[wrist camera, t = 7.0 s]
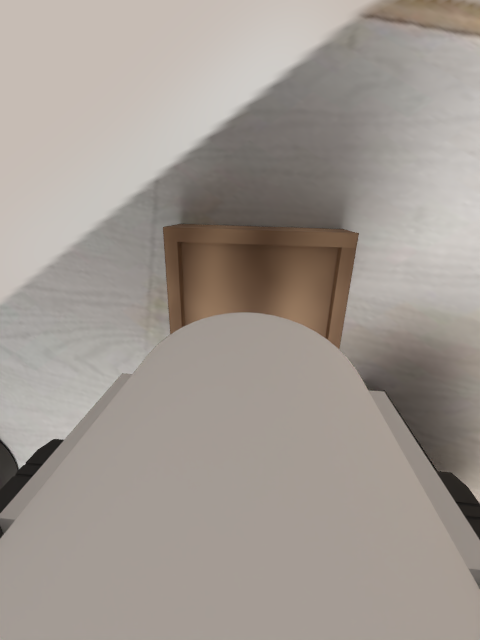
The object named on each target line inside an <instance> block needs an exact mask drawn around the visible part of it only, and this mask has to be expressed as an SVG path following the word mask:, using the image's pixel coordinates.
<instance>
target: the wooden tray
mask: <svg viewBox="0 0 480 640" xmlns="http://www.w3.org/2000/svg"><path fill="white" fill-rule="evenodd" d="M163 234H164V249H165V263H166V278H167V292H168V307H169V322H170V335H171V334H172V333H173V332H175V331H177V330H179V329H180V328H182V327H184V326H186V325H188V324H190V323H193V322H195V321H198V320H201V319H204V318H207V317H211V316H215V315H221V314H227V313H238V312H250V313H262V314H268V315H274V316H278V317H281V318H285V319H288V320H291V321H294V322H296V323H299V324H302V325H304V326H305V327H307V328H309V329H311V330H313V331H315V332H317V333H318V334H320V335H321V336H323V337H324V338H326V339H327V340H328V341H330V342H331V343H332V344H333V345H335V346H336V347H337V348H338V349H339V348H340V342H341V336H342V330H343V324H344V318H345V312H346V306H347V300H348V294H349V288H350V282H351V276H352V270H353V265H354V259H355V253H356V247H357V241H358V235H359V233H355V232H352V231H348V230H344V229H324V228H292V227H260V226H228V225H196V224H177V225H172V226H166V227H163Z"/></svg>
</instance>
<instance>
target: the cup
mask: <svg viewBox="0 0 480 640" xmlns="http://www.w3.org/2000/svg"><path fill="white" fill-rule="evenodd" d="M0 640H480V589H479V587H478V585H477V583H476V582H475V580H474V578H473V576H472V574H471V573H470V571H469V569H468V567H467V566H466V564H465V562H464V560H463V558H462V557H461V555H460V553H459V551H458V550H457V548H456V546H455V544H454V542H453V541H452V539H451V537H450V535H449V533H448V532H447V530H446V528H445V526H444V525H443V523H442V521H441V519H440V517H439V516H438V514H437V512H436V510H435V509H434V507H433V505H432V503H431V501H430V500H429V498H428V496H427V494H426V493H425V491H424V489H423V487H422V485H421V484H420V482H419V480H418V478H417V477H416V475H415V473H414V471H413V469H412V468H411V466H410V464H409V462H408V460H407V459H406V457H405V455H404V453H403V452H402V450H401V448H400V446H399V444H398V443H397V441H396V439H395V437H394V435H393V434H392V432H391V430H390V428H389V427H388V425H387V423H386V421H385V419H384V418H383V416H382V414H381V412H380V410H379V409H378V407H377V405H376V403H375V402H374V400H373V398H372V396H371V394H370V393H369V391H368V389H367V387H366V385H365V384H364V382H363V380H362V378H361V377H360V375H359V373H358V372H357V370H356V369H355V367H354V366H353V365H352V363H351V362H350V361H349V359H348V358H347V357H346V356H345V355H344V354H343V353H342V352H341V351H340V350H339V349H338V348H337V347H336V346H335V345H333V344H332V343H331V342H330V341H328V340H327V339H326V338H324V337H323V336H321V335H320V334H318V333H317V332H315V331H313V330H311V329H309V328H307V327H305V326H304V325H302V324H299V323H296V322H294V321H291V320H288V319H285V318H281V317H278V316H274V315H268V314H262V313H250V312H238V313H227V314H221V315H215V316H211V317H207V318H204V319H201V320H198V321H195V322H193V323H190V324H188V325H186V326H184V327H182V328H180V329H179V330H177V331H175V332H173V333H172V334H171V335H169V336H168V337H166V338H165V339H164V340H163V341H161V342H160V343H159V344H158V345H157V346H156V347H155V348H154V349H153V350H152V351H151V352H150V353H149V354H148V356H147V357H146V358H145V359H144V360H143V362H142V363H141V364H140V365H139V367H138V368H137V369H136V370H135V372H134V373H133V374H132V375H131V377H130V378H129V379H128V380H127V382H126V383H125V384H124V385H123V387H122V388H121V389H120V390H119V392H118V393H117V394H116V395H115V397H114V398H113V399H112V400H111V402H110V403H109V404H108V405H107V407H106V408H105V409H104V410H103V412H102V413H101V414H100V415H99V417H98V418H97V419H96V420H95V422H94V423H93V424H92V425H91V427H90V428H89V429H88V430H87V432H86V433H85V434H84V435H83V437H82V438H81V439H80V440H79V442H78V443H77V444H76V445H75V447H74V448H73V449H72V450H71V452H70V453H69V454H68V455H67V457H66V458H65V459H64V460H63V461H62V463H61V464H60V465H59V466H58V468H57V469H56V470H55V471H54V473H53V474H52V475H51V476H50V478H49V479H48V480H47V481H46V483H45V484H44V485H43V486H42V488H41V489H40V490H39V491H38V493H37V494H36V495H35V496H34V497H33V499H32V500H31V501H30V502H29V504H28V505H27V506H26V507H25V509H24V510H23V511H22V512H21V514H20V515H19V516H18V517H17V519H16V520H15V521H14V522H13V524H12V525H11V526H10V527H9V529H8V530H7V531H6V532H5V533H4V535H3V536H2V537H1V538H0Z"/></svg>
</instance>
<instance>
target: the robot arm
mask: <svg viewBox="0 0 480 640" xmlns="http://www.w3.org/2000/svg"><path fill="white" fill-rule="evenodd" d="M131 375H132V374H123V373H122V374H121V375H120V377H119V378H118V379H117V380H116V381H115V382H114V383H113V385H112V386H111V387H110V388H109V389H108V390H107V391H106V393H105V394H104V395H103V396H102V397H101V398H100V400H99V401H98V402H97V403H96V404H95V405H94V406H93V408H92V409H91V410H90V411H89V412H88V413H87V414H86V416H85V417H84V418H83V419H82V420H81V421H80V422H79V424H78V425H77V426H76V427H75V428H74V429H73V431H72V432H71V433H70V434H69V435H68V436H67V437H66V439H65V440H59V439H53V440H52V441H50V442H49V443H47V444H46V445H44V446H43V447H41V448H40V449H38V450H37V451H36V452H35V453H34V454H33V456H32V457H31V458H30V459H29V460H28V461H27V462H26V464H25V465H23V466H22V467H21V468H20V469H19V470H17V466H16V464H15V461H14V459H13V458H12V456H11V455H10V453H9V452H8V450H7V449H6V448H5V447H4V446H3V445H2V444H1V443H0V538H1V537H2V536H3V535H4V533H5V532H6V531H7V530H8V529H9V527H10V526H11V525H12V524H13V522H14V521H15V520H16V519H17V517H18V516H19V515H20V514H21V512H22V511H23V510H24V509H25V507H26V506H27V505H28V504H29V502H30V501H31V500H32V499H33V497H34V496H35V495H36V494H37V493H38V491H39V490H40V489H41V488H42V486H43V485H44V484H45V483H46V481H47V480H48V479H49V478H50V476H51V475H52V474H53V473H54V471H55V470H56V469H57V468H58V466H59V465H60V464H61V463H62V461H63V460H64V459H65V458H66V457H67V455H68V454H69V453H70V452H71V450H72V449H73V448H74V447H75V445H76V444H77V443H78V442H79V440H80V439H81V438H82V437H83V435H84V434H85V433H86V432H87V430H88V429H89V428H90V427H91V425H92V424H93V423H94V422H95V420H96V419H97V418H98V417H99V415H100V414H101V413H102V412H103V410H104V409H105V408H106V407H107V405H108V404H109V403H110V402H111V400H112V399H113V398H114V397H115V395H116V394H117V393H118V392H119V390H120V389H121V388H122V387H123V385H124V384H125V383H126V382H127V380H128V379H129V378H130V377H131ZM368 391H369V393H370V394H371V396H372V398H373V400H374V402H375V403H376V405H377V407H378V409H379V410H380V412H381V414H382V416H383V418H384V419H385V421H386V423H387V425H388V427H389V428H390V430H391V432H392V434H393V435H394V437H395V439H396V441H397V443H398V444H399V446H400V448H401V450H402V452H403V453H404V455H405V457H406V459H407V460H408V462H409V464H410V466H411V468H412V469H413V471H414V473H415V475H416V477H417V478H418V480H419V482H420V484H421V485H422V487H423V489H424V491H425V493H426V494H427V496H428V498H429V500H430V501H431V503H432V505H433V507H434V509H435V510H436V512H437V514H438V516H439V517H440V519H441V521H442V523H443V525H444V526H445V528H446V530H447V532H448V533H449V535H450V537H451V539H452V541H453V542H454V544H455V546H456V548H457V550H458V551H459V553H460V555H461V557H462V558H463V560H464V562H465V564H466V566H467V567H468V569H469V571H470V573H471V574H472V576H473V578H474V580H475V582H476V583H477V585H478V587H479V589H480V503H479V502H478V501H477V499H476V498H475V496H474V495H473V494H472V492H471V491H470V490H469V488H468V487H467V486H466V485H465V484H464V483H462V482H461V481H460V480H459V479H458V478H457V477H456V476H454V475H453V474H452V473H449V472H438V471H435V470H434V468H433V467H432V465H431V463H430V462H429V460H428V459H427V457H426V456H425V454H424V453H423V451H422V449H421V448H420V446H419V445H418V443H417V442H416V440H415V439H414V437H413V435H412V434H411V432H410V431H409V429H408V428H407V426H406V425H405V423H404V421H403V420H402V418H401V417H400V415H399V414H398V412H397V411H396V409H395V407H394V406H393V404H392V403H391V401H390V400H389V398H388V397H387V395H386V393H385V392H384V391H370V390H368Z"/></svg>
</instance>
